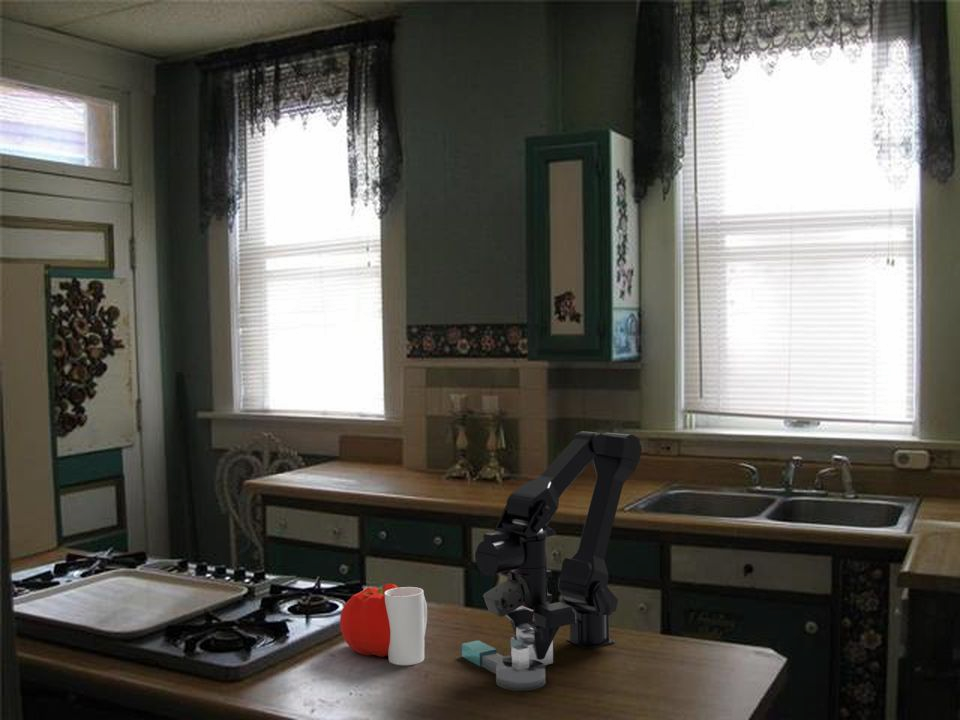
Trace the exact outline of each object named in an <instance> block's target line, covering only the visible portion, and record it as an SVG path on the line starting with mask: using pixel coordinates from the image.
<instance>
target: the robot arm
mask: <svg viewBox="0 0 960 720" xmlns="http://www.w3.org/2000/svg"><path fill="white" fill-rule="evenodd" d="M642 448H643V446H642V445H641V443H640V440H639V439H638V437H637V436H636V435H634V434H627V433H617V432H604V433H602V434H601V433H599V432H592V431H583V430H582V431H579V432H577V433H575V434H574V436H573V438H572V441H570V443H569V444H567V446H566V447H565V448H564V449H563V450H562V452H561V453H559V455H558V456H557V457H556V458H555V459H554V460H553V461H552V462H551V463H550V464H549V465H548V467H546V468H545V470H544V471H543V472H542V473H541V475H539V476H538V477H537V478H535V479H533V480H531V481H528V482H526V483H524V484H521V486H519V487H517V489H515V490H514V491H513V492H511V493H510V495H509V496H508V498H507V500H506V505H505V507H504V509H503V511H502V513H501V515H500V517H499V519H498V522H497V524H496V525H495V528H494V531H495V532H486V533H484V534H483V540H482V541H481V542H480V543H479V544H478V546H477V547H476V551H475V552H474V559H475V563H476V566H477V568H478V569H479V572H481V573H482V574H483V575H484V576H487V577H490V576H494V575H498V574H502V573H506V572H507V574H506V575H507V579H506V581H504V582H501V583H498V584H496V586H494V587H492V588H491V589H489V590H487V591H486V592H484V593H483V595H482V596H483V599H484V602H485V604H486V607H487V610H488V612H489V613H492V614H494V615H496V616H497V617H501V618H502V617H506V618H507V619H508V620H509V622H510V624H511V628H512V631H513V633H514V637H516V627H517V626H518V625H520V624H524V623H528V624H529V625H530V626H531V627H532V628H533V629H534V632H535V642H536V651H537V657H538V659H539V660H541V659H544V658H545V656H546V653H547V651H548V649H549V647H550V645H551V643H552V640H553V641H554V638H555V636H556V635H557V632H558V631H559V629H560V628H561V627H564V626H565V627H566V626H568V625H569V635H570V636H569V637H567V638H566V641H567V642H569V643H570V644H573V645H575V646H578V647H579V648H580V647H581V648H582V649H585V650H593V649H596V648H602V647H605V646H611V645H614V644H616V641H615V640H614V639H612V638H610V616H611V615H612V614H613V613H615V612H616V611H617V608H618V603H619V602H618V601H619V599H618V598H617V597H616V595H615V594H614V593H613V592H612V591H611V590H610V588H609V587H608V584H609V577H610V576H609V572H608V568H607V565H606V561H605V559H606V553H607V550H608V545H609V542H610V537H611V533H612V529H613V526H614V521H615V518H616V515H617V510H618V507H619V502H620V497H621V494H622V490H623V486H624V484H625V482H626V481H627V480H628V479H629V478H630V477H631V476H632V475H633V474H634V473H635V472H636V469H637V467H638V464H639V462H640V459H641V457H642V452H643V451H642V450H643V449H642ZM591 462H593V465H594V469H595V474H596V480H595V483H594V487H593V492H592V495H591V499H590V503H589V507H588V511H587V513H586V518H585V522H584V526H583V529H582V533H581V538H580V541H579V545H578V549H577V551H576V552H575V553H574V555H573V556H571V558H570V557H564V558H563V561H562V563H561V570H560V573H559V575H558V576H557V580H559V581H558V591H559V593H560V596H561V598H562V602H561V601H557V602H553V601H554V600H553V594H551V593H549V592H548V578H549V579H550V578H553V571H552V570H550V569H548V560H547V559H548V555H547V554H548V553H547V551H548V550H547V549H548V548H547V542H548V541H547V538H550V537H554V536H555V535H556V531H555V530H553V529H552V528H551V527H550V526H549V525H548V524H549V522H551V520H552V519H553V516H554V515H555V513H556V512H557V510H558V509H559V504H560V497H561V496H562V495H563V493H564V492H565V491H566V490H567V489H568V487H570V486H571V484H572V483H573V482H574V481H575V480H576V479H577V477H578V476H579V475H580V474H581V473H582V472H583V471H584V469H586V467H587V466H588V465H589V464H590V463H591ZM513 523H514V524H513ZM547 602H553V603H547ZM533 619H534V621H533Z"/></svg>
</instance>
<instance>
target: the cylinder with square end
mask: <svg viewBox="0 0 960 720" xmlns="http://www.w3.org/2000/svg"><path fill="white" fill-rule="evenodd" d="M553 644H554V639H553V640H552V643H551V645H550V647H549V649H548V651H547V653H546V656H545V658H544V659H541V660H539V659H538V657H537V651H536V642H535V632H534V629H533V628H532V627H531V626H530V625H529V624H528V623H524V624H520V625H518V626H517V627H516V637H515V636H512V637H510V655H512V647H513V646H518V645H524V646H526V647H528V648H529V659H532V660H537V661H539V662H542V663H543V664H544V665H545V666H547V665H551V664H554V645H553Z"/></svg>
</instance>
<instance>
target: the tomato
mask: <svg viewBox="0 0 960 720" xmlns="http://www.w3.org/2000/svg"><path fill="white" fill-rule="evenodd" d="M394 588H399V587H398V586H397V585H396V584H394V583H385V584H384V585H383V586H382V585H380V586H379V587H378V588H377V587H374V586H373V587H367V588H364V589H363V590H361V591H360V592H357V593H356V594H353V595H351V597H349V599H348V600H347V601H346V602H345V603H344V604H343V607H342V609H341V613H340V617H339V628H340V631H341V635H342V638H343V639H344V641H345V643H346V645H348V646H349V648H350V649H352V650H353V651H354V652H357V653H358V654H360V655H365V656H373V655H375V656H378V657H379V658H384V657H388V650H389V644H390V624H389V618H388V614H387V609H386V605H385V594H384V593H385V591H387V590H390V589H394ZM390 596H393V595H390Z"/></svg>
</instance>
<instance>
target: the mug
mask: <svg viewBox="0 0 960 720" xmlns="http://www.w3.org/2000/svg"><path fill="white" fill-rule="evenodd" d="M424 593H425V592H424V589H422V588H420V587H416V586H414V587H413V586H405V587H404V586H402V587H398V588H394V589H390V590H387V591H385V593H384V594H385V605H386V609H387V614H388V618H389V624H390V644H389V650H388V656H387V657H388V662H389V663H391V664H394V665H397V666H412V665H417V664H421V663H422V662H424V660H425V635H426V629H427V623H428V608H427V606H428V605H427V601H426V598H425V594H424ZM390 595H393V596H390Z"/></svg>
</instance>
